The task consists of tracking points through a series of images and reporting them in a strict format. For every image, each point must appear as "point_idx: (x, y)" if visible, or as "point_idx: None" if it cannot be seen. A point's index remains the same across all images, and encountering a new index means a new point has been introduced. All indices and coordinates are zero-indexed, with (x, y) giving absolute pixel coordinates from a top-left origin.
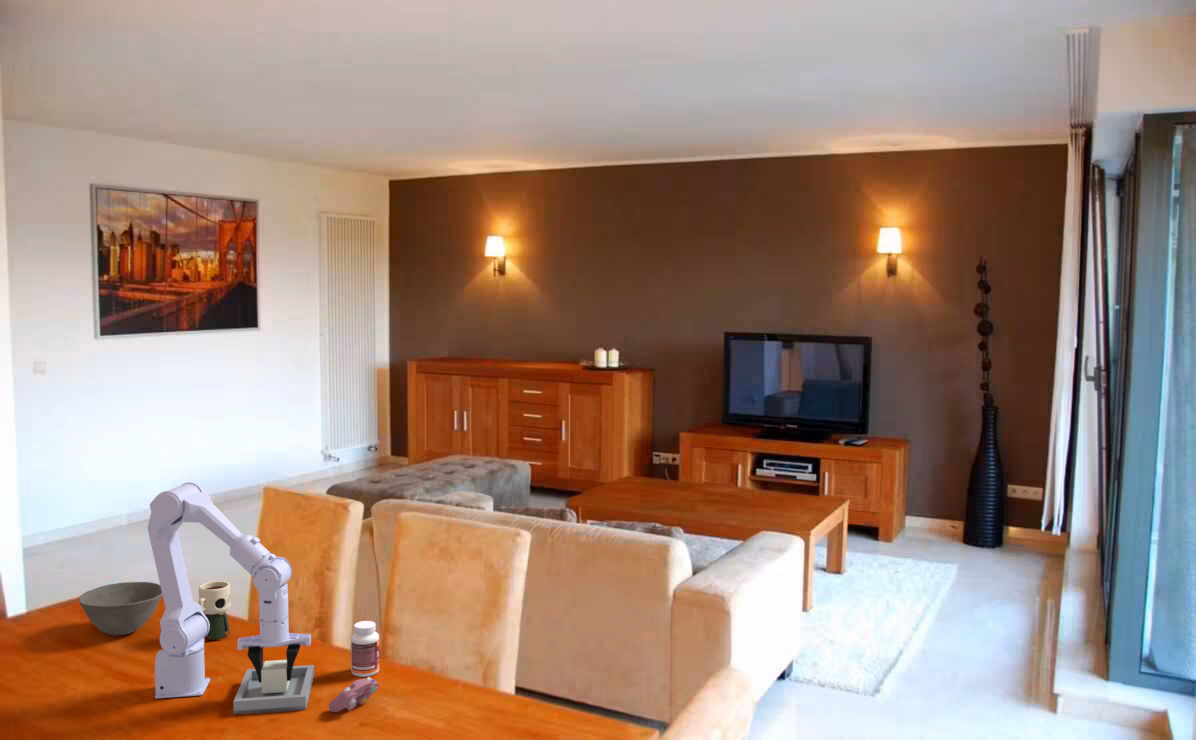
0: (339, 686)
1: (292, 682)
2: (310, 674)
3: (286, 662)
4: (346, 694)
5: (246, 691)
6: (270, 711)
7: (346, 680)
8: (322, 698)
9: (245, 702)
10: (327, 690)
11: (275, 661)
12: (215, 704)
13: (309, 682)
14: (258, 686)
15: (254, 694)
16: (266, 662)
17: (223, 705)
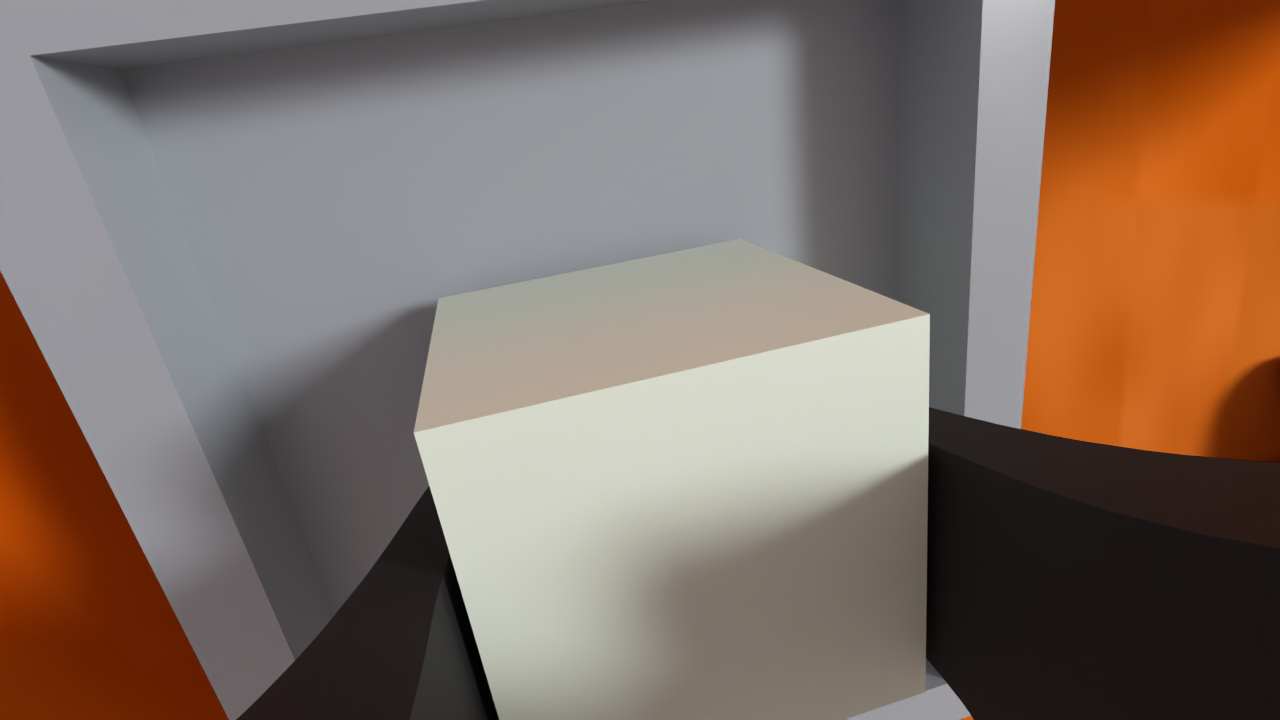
0: (1164, 177)
1: (747, 175)
2: (1028, 213)
3: (896, 465)
4: None
5: (286, 532)
6: None
7: (1236, 24)
8: (1025, 427)
9: None
10: (1065, 269)
11: (671, 436)
12: (8, 665)
13: (1014, 414)
14: (345, 300)
15: (401, 512)
16: (488, 507)
17: (129, 669)
